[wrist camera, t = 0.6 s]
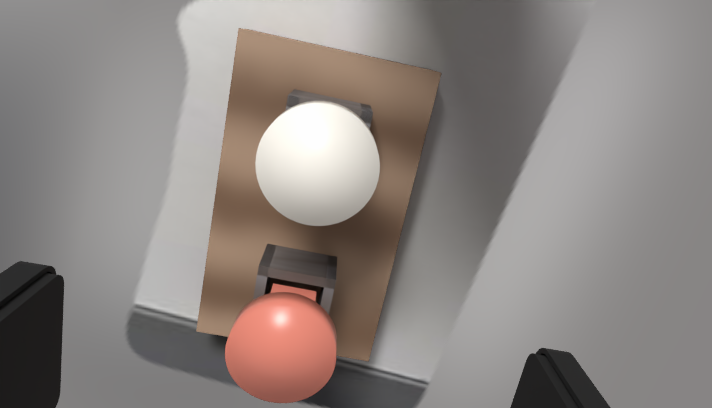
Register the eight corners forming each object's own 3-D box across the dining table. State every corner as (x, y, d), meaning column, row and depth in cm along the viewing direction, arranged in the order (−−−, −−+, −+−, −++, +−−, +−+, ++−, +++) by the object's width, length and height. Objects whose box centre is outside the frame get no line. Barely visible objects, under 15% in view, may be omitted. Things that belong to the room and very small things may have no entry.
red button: (251, 255, 30) (233, 297, 25) (346, 273, 31) (346, 317, 26) (238, 338, 32) (218, 393, 27) (327, 354, 32) (324, 411, 27)
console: (248, 29, 33) (225, 26, 27) (433, 70, 34) (452, 76, 27) (207, 309, 38) (180, 361, 32) (366, 338, 39) (370, 393, 33)
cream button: (280, 83, 28) (266, 92, 23) (384, 105, 28) (392, 119, 23) (263, 184, 29) (246, 213, 24) (362, 203, 30) (365, 236, 25)
